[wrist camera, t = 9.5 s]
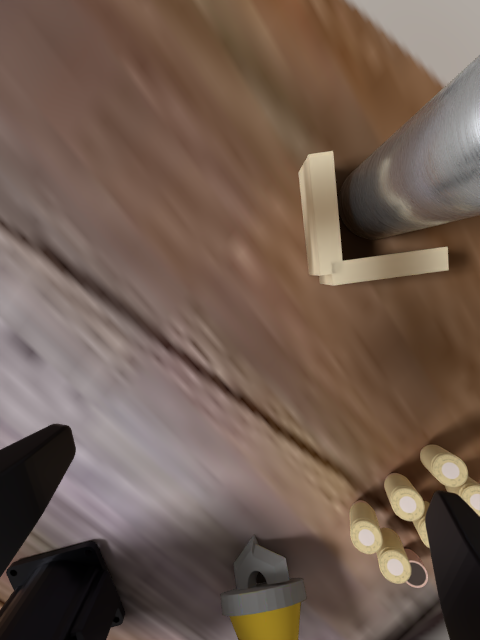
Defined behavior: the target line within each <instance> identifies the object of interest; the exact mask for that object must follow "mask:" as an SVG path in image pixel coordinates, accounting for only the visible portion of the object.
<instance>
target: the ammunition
mask: <svg viewBox="0 0 480 640" xmlns="http://www.w3.org/2000/svg"><path fill="white" fill-rule="evenodd" d="M420 459H421V462H422V464H423V465H424V466H425V467H426V468H427V469H428V470H429V472H430V473H431V474H432V475H433V476H434V477H435V478H436V479H437V480H438V481H439V482H440V483H442V484H443V485H445V488H446V490H447V491H448V492H452V493H456V494H458V495H459V496H460V497H461V498H462V499H463V500H464V501H465V502H466V503H467V504H468V505H469V506H470V507H471V508H472V509H473V510H474V511H475V512H476V513H477V514H478V515H479V516H480V484H479V483H477V482H476V481H475V480H473V479H472V478H470V477H469V476H468V469H467V466H466V465H465V463H464V462H463V461H462V460H461V459H460V458H459V457H457V456H455V455H454V454H452V453H450V452H449V451H447V450H445V449H443V448H442V447H440V446H438V445H427V446H425V447H424V448H423V449H422V450H421V453H420ZM384 487H385V491H386V493H387V496H388V498H389V501H390V503H391V506H392V508H393V510H394V512H395V513H396V514H397V515H398V516H399V517H400V518H401V519H404V520H406V521H412V522H413V524H414V526H415V528H416V530H417V532H418V534H419V536H420V538H421V540H422V541H423V543H424V544H425V545H426V546H427V547H428V548H430V547H429V542H428V536H427V531H426V525H425V516H426V512H427V510H428V507H429V505H430V503H429V502H427V501H424V500H423V499H422V497H421V496H420V495H419V493H418V492H417V491H416V489H415V488H414V487H413V485H412V484H411V483H410V481H409V480H408V479H407V478H406V477H405V476H403V475H401V474H398V473H391V474H389V475H388V476H387V477H386V480H385V484H384ZM350 534H351V540H352V542H353V544H354V546H355V547H356V548H357V549H358V550H359V551H361V552H363V553H365V554H373V553H376V552H377V557H378V562H379V567H380V570H381V572H382V574H383V576H384V577H385V578H386V579H388V580H389V581H391V582H393V583H397V584H401V583H404V582H406V583H407V584H409V585H410V586H412V587H416V588H420V587H423V586H424V585H425V584H426V583H427V580H428V574H427V571H426V569H425V567H424V565H423V562H422V561H421V559H420V558H419V556H418V555H417V554H416V553H415V552H413V551H412V550H410V549H404V547H403V545H402V542H401V540H400V538H399V536H398V534H397V533H396V532H395V531H393V530H392V529H389V528H381V529H380V527H379V524H378V520H377V517H376V514H375V511H374V510H373V508H372V507H371V506H370V505H369V504H368V503H367V502H365V501H362V500H358V501H356V502H354V504H353V505H352V507H351V509H350Z"/></svg>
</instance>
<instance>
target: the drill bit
mask: <svg viewBox="0 0 480 640" xmlns="http://www.w3.org/2000/svg"><path fill="white" fill-rule="evenodd" d="M259 572H261V573H262V574H263V576H264V577H265V579H266V582H265V583H260V584H256V578H257V574H258V573H259ZM234 573H235V582H236V589H233V590H230V591H227V592H224V593H222V594H220V595H221V606H222V615H224V616H229V617H230V619H231V622H232V624H233V627H234V629H235V632H236V635H237V637H238V640H298V634H299V620H300V606H301V602H302V601H304V600H306V598H307V597H306V592H305V587H304V582H303V579H302V578H291V579H289V573H288V568H287V563H286V558H285V557H283V556H281V555H278V554H276V553H274V552H272V551H270V550H267V549H265V548H263V547H261V546H259V544H258V542H257V540H256V538H255V535H253V537H252V538H251V540H250V541H249V542H248V544H247V545H246V547H245V548H244V549H243V551H242V552H241V554H240V555H239V556H238V558H237V559H236V561H235V562H234Z"/></svg>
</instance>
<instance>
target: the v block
mask: <svg viewBox="0 0 480 640" xmlns="http://www.w3.org/2000/svg"><path fill="white" fill-rule="evenodd" d="M299 182H300V191H301V201H302V211H303V221H304V230H305V240H306V250H307V260H308V269H309V275H318V276H319V280H320V284H326V285H341V284H348V283H356V282H363V281H371V280H378V279H386V278H393V277H401V276H408V275H416V274H423V273H431V272H438V271H446V270H449V266H448V247H441V248H433V249H425V250H417V251H409V252H402V253H394V254H387V255H380V256H372V257H365V258H357V259H350V260H342V249H341V237H340V226H339V214H338V203H337V191H336V180H335V168H334V157H333V151H329V152H322V153H315V154H309V155H308V157H307V158H306V160H305V162H304V164H303V166H302V167H301V169H300V171H299Z"/></svg>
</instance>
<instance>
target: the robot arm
mask: <svg viewBox="0 0 480 640" xmlns="http://www.w3.org/2000/svg"><path fill="white" fill-rule="evenodd" d="M75 452H76V447H75V443H74V439H73V435H72V430H71V428H70V427H69V426H67V425H62V424H52V425H50V426H48V427H46V428H44V429H42V430H40V431H37V432H35V433H33V434H31V435H29V436H27V437H25V438H23V439H21V440H19V441H17V442H15V443H13V444H11V445H9V446H7V447H5V448H3V449H1V450H0V577H1V576H2V574H3V573H4V571H5V570H6V568H7V567H8V565H9V564H10V562H11V561H12V559H13V558H14V556H15V555H16V553H17V552H18V550H19V549H20V547H21V546H22V544H23V543H24V541H25V540H26V538H27V537H28V535H29V534H30V532H31V531H32V529H33V528H34V526H35V525H36V523H37V522H38V520H39V519H40V517H41V516H42V514H43V512H44V510H45V509H46V507H47V505H48V504H49V502H50V500H51V498H52V496H53V495H54V493H55V491H56V489H57V487H58V485H59V484H60V482H61V480H62V478H63V476H64V475H65V473H66V471H67V469H68V467H69V466H70V464H71V462H72V460H73V458H74V456H75ZM425 525H426V531H427V536H428V542H429V547H430V552H431V558H432V563H433V569H434V574H435V580H436V585H437V590H438V595H439V600H440V605H441V609H442V613H443V616H444V620H445V624H446V627H447V631H448V634H449V638H450V640H480V516H479V515H478V514H477V513H476V512H475V511H474V510H473V509H472V508H471V507H470V506H469V505H468V504H467V503H466V502H465V501H464V500H463V499H462V498H461V497H460V496H459V495H458V494H456V493H452V492H446V491H440V490H437V491H436V492H435V493H434V494H433V497H432V499H431V502H430V505H429V507H428V510H427V512H426V516H425ZM89 550H91V551H89ZM6 573H7V576H8V578H9V580H10V583H11V585H12V587H13V589H14V592H13V593H12V594H11V596H10V597H9V599H8V600H7V601H6V603H5V604H4V606H3V607H2V608H1V610H0V640H106V639H107V636H108V633H109V630H110V628H111V627H115V626H118V625H121V624H122V623H123V620H124V617H125V612H124V609H123V607H122V604H121V602H120V598H119V596H118V593H117V591H116V588H115V586H114V584H113V581H112V579H111V576H110V574H109V572H108V570H107V567H106V565H105V562H104V560H103V558H102V555H101V553H100V550H99V548H98V546H97V544H96V543H94V542H86V543H83V544H79V545H75V546H72V547H68V548H64V549H60V550H57V551H53V552H49V553H46V554H42V555H38V556H35V557H31V558H27V559H23V560H20V561H16V562H13V563H12V564H11V565H10V567H9V568H8V569H7V572H6Z"/></svg>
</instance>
